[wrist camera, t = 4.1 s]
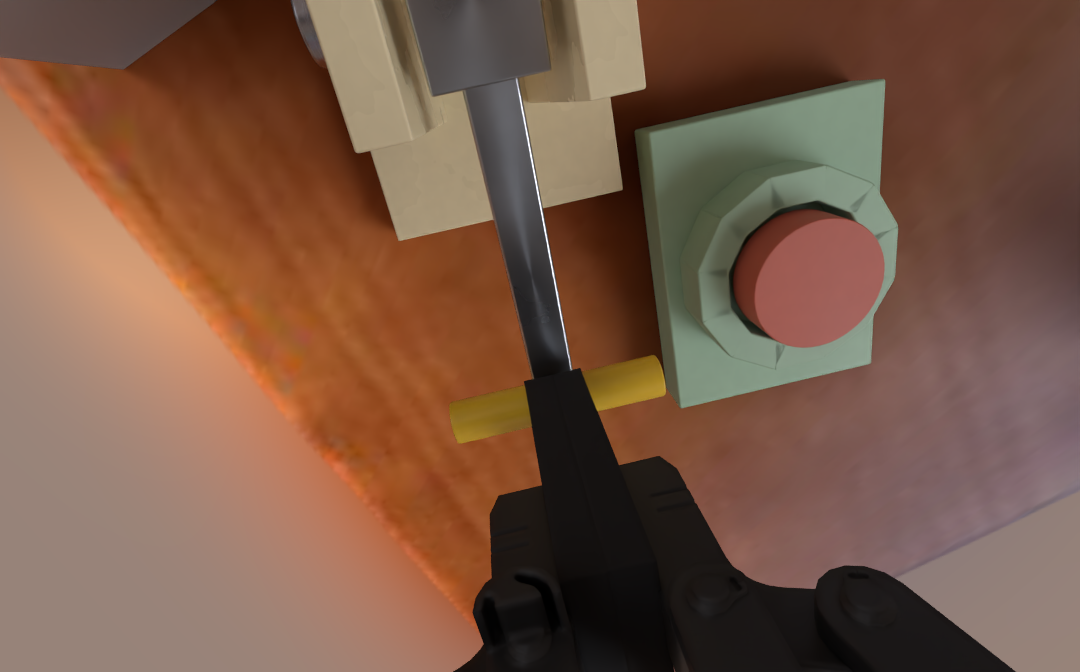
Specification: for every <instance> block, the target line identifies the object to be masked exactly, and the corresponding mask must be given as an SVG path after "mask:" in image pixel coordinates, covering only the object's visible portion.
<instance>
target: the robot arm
mask: <svg viewBox="0 0 1080 672" xmlns="http://www.w3.org/2000/svg"><path fill="white" fill-rule="evenodd" d="M524 384H525V389H526V395H527V401H528V407H529V412H530V418H531V424H532V430H533V435H534V441H535V447H536V453H537V458H538V464H539V470H540V476H541V481H542V486H537V487H533V488H529V489H525V490H521V491H516V492H512V493H508V494H504V495H500V496H498V498H497V500H496V503H495V505H494V507H493V509H492V511H491V513H490V534H491V553H492V554H491V568H492V578H491V579H490V580H489V581H488V582H486V583H485V584H484V586H483V587H482V589H481V590H480V592H479V593H478V595H477V597H476V599H475V604H474V608H473V615H474V618H475V621H476V624H477V626H478V629H479V632H480V635H481V637H482V640H483V643H484V645H483V646H482V648H481V649H480V650H479V652H478V653H477V654H476V655H475V656H474V657H473V658H472V659H471V660H470V661H468V662H467V663H466V664H464V665H463V666H462V667H460V668H459V669H457V670H455V671H453V672H674V669H675V672H1015V671H1014V670H1013V669H1012V668H1010V667H1009V666H1008V665H1007V664H1005V663H1004V662H1002V661H1001V660H1000V659H999V658H998V657H996V656H995V655H994V654H992V653H991V652H990V651H988V650H987V649H986V648H985V647H983V646H982V645H981V644H979V643H978V642H977V641H976V640H974V639H973V638H972V637H971V636H969V635H968V634H967V633H966V632H964V631H963V630H962V629H960V628H959V627H958V626H956V625H955V624H954V623H953V622H952V621H950V620H949V619H948V618H946V617H945V616H944V615H943V614H941V613H940V612H939V611H937V610H936V609H935V608H933V607H932V606H931V605H930V604H929V603H927V602H926V601H925V600H923V599H922V598H921V597H920V596H918V595H917V594H916V593H914V592H913V591H912V590H911V589H909V588H908V587H907V586H906V585H904V584H903V583H901V582H900V581H898V580H896V579H895V578H893V577H891V576H890V575H888V574H886V573H885V572H881V571H878V570H875V569H871V568H868V567H865V566H842V567H838V568H835V569H831V570H829V571H828V572H826V573H825V574H824V575H823V576H822V577H821V578H819V579H818V583H817V586H816V589H803V588H783V587H776V586H769V585H765V584H762V583H759V582H756V581H754V580H752V579H750V578H748V577H746V576H745V575H744V573H742V572H741V571H739V570H737V569H736V568H734V567H733V566H732V565H731V563H730V562H729V561H728V559H727V558H726V556H725V554H724V553H723V551H722V549H721V547H720V545H719V544H718V542H717V540H716V538H715V536H714V535H713V533H712V531H711V529H710V527H709V526H708V524H707V522H706V520H705V518H704V517H703V515H702V513H701V511H700V509H699V508H698V506H697V504H696V503H695V502H694V499H693V497H692V495H691V493H690V491H689V490H688V489H687V487H686V484H685V482H684V481H683V479H682V477H681V475H680V473H679V472H678V470H677V468H675V467H674V466H673V465H671V464H670V463H668V462H667V461H666V460H664V459H663V458H661V457H660V456H657V457H652V458H648V459H644V460H640V461H636V462H631V463H627V464H623V465H618V462H617V459H616V457H615V454H614V452H613V449H612V447H611V444H610V442H609V439H608V437H607V434H606V432H605V429H604V427H603V424H602V422H601V419H600V417H599V414H598V412H597V409H596V407H595V404H594V402H593V399H592V397H591V394H590V392H589V389H588V387H587V384H586V382H585V379H584V377H583V374H582V372H581V369H580V368H579V369H574V370H570V371H566V372H562V373H557V374H553V375H549V376H544V377H540V378H536V379H532V380H527V381H524ZM673 666H674V668H673Z"/></svg>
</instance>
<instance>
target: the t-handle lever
mask: <svg viewBox="0 0 1080 672" xmlns="http://www.w3.org/2000/svg"><path fill="white" fill-rule="evenodd" d="M405 3H406V7H407V11H408V14H409V18H410V21H411V25H412V29H413V32H414V36H415V40H416V43H417V47H418V51H419V54H420V58H421V61H422V65H423V69H424V72H425V76H426V80H427V83H428V87H429V91H430V94H431V96H432V97H436V96H441V95H445V94H450V93H454V92H459V91H463V95H464V100H465V104H466V108H467V112H468V116H469V120H470V124H471V128H472V133H473V137H474V141H475V145H476V149H477V153H478V157H479V161H480V165H481V170H482V174H483V178H484V182H485V186H486V190H487V194H488V198H489V203H490V207H491V211H492V215H493V219H494V223H495V227H496V231H497V236H498V240H499V244H500V248H501V252H502V256H503V260H504V264H505V269H506V273H507V277H508V281H509V285H510V289H511V293H512V297H513V301H514V306H515V310H516V314H517V318H518V322H519V326H520V330H521V334H522V339H523V343H524V347H525V351H526V355H527V359H528V363H529V367H530V372H531V376H532V379H536V378H540V377H544V376H549V375H553V374H557V373H562V372H566V371H570V370H573V369H572V363H571V358H570V352H569V347H568V342H567V336H566V331H565V325H564V320H563V315H562V309H561V304H560V298H559V293H558V288H557V282H556V277H555V271H554V266H553V260H552V255H551V250H550V244H549V239H548V233H547V228H546V223H545V217H544V212H543V206H542V201H541V196H540V190H539V185H538V179H537V174H536V168H535V163H534V158H533V152H532V147H531V141H530V136H529V131H528V125H527V120H526V114H525V109H524V104H523V98H522V93H521V87H520V82H519V78H521V77H526V76H530V75H535V74H539V73H544V72H548V71H550V70H551V61H550V54H549V48H548V41H547V35H546V28H545V21H544V15H543V8H542V2H541V0H405ZM582 374H583V377H584V379H585V382H586V384H587V387H588V389H589V392H590V394H591V397H592V399H593V402H594V404H595V407H596V409H597V411H601V410H606V409H610V408H614V407H618V406H623V405H627V404H631V403H635V402H640V401H644V400H648V399H652V398H657V397H661V396H664V395H665V393H666V385H665V379H664V374H663V371H662V368H661V365H660V363H659V360H658V359H657V357H656V356H655V355H651V356H646V357H642V358H638V359H633V360H629V361H625V362H621V363H616V364H612V365H608V366H603V367H599V368H595V369H591V370H586V371H582ZM449 413H450V420H451V425H452V429H453V433H454V436H455V438H456V440H457V442H458V443H460V444H461V443H465V442H469V441H474V440H478V439H482V438H486V437H491V436H495V435H499V434H504V433H508V432H512V431H516V430H521V429H525V428H529V427H532V424H531V418H530V412H529V407H528V401H527V395H526V389H525V385H522V386H518V387H514V388H509V389H505V390H501V391H496V392H492V393H488V394H484V395H479V396H475V397H471V398H466V399H462V400H458V401H454V402H451V403H450V406H449Z"/></svg>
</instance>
